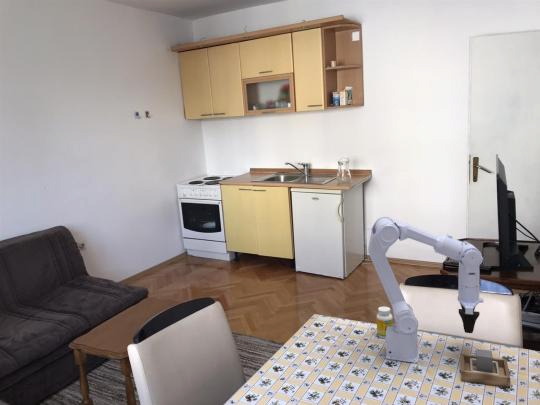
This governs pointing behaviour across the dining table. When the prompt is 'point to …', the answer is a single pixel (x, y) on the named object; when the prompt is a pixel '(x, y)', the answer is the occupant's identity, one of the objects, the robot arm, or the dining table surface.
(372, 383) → the dining table surface
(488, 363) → the grey rectangular block
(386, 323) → the supplement bottle
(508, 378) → the box
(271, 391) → the dining table surface
